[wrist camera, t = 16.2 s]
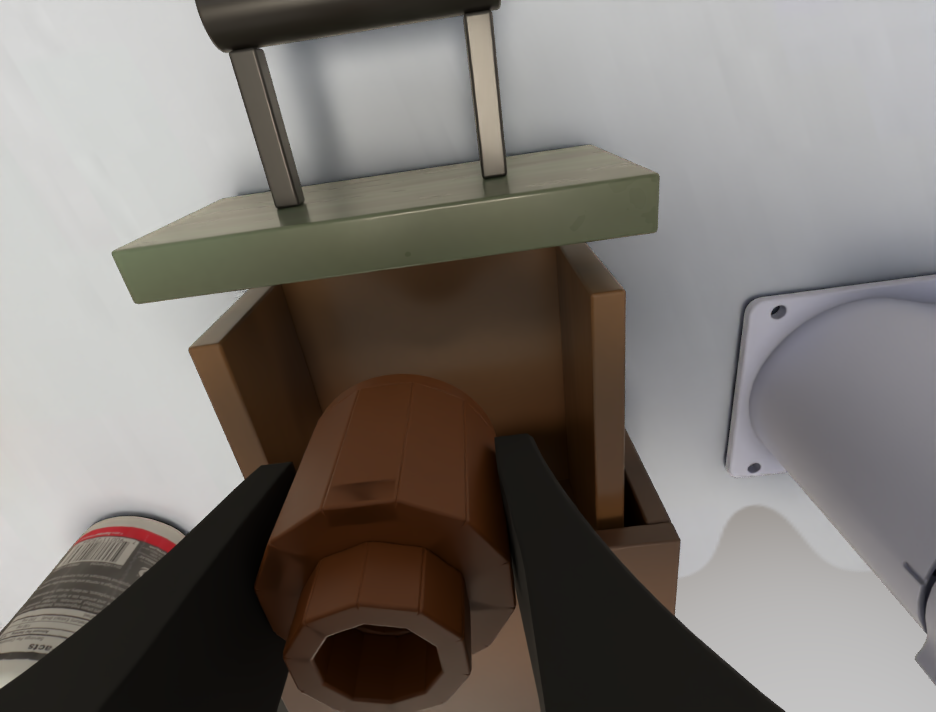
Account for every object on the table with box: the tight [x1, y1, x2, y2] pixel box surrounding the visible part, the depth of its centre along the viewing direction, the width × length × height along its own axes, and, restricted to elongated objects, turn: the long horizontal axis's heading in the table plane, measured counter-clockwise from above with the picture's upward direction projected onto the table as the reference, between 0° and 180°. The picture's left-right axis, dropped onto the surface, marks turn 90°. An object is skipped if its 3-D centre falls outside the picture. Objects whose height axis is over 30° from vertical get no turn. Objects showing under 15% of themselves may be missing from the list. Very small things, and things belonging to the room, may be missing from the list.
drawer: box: [112, 0, 660, 530], centre depth 15 cm, size 17×11×6 cm, turn 8°
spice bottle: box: [254, 374, 517, 712], centre depth 9 cm, size 4×4×4 cm
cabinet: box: [281, 429, 681, 712], centre depth 20 cm, size 13×12×7 cm
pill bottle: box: [0, 516, 185, 689], centre depth 19 cm, size 5×5×10 cm
